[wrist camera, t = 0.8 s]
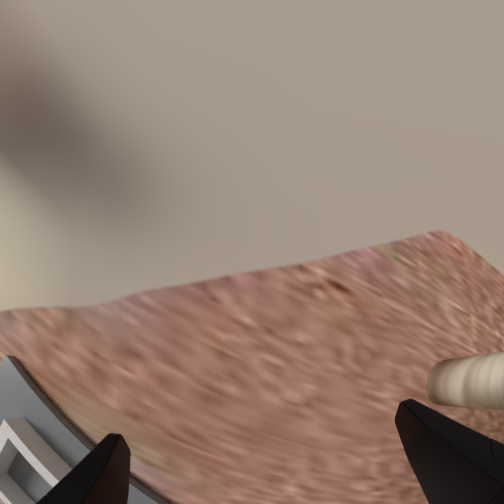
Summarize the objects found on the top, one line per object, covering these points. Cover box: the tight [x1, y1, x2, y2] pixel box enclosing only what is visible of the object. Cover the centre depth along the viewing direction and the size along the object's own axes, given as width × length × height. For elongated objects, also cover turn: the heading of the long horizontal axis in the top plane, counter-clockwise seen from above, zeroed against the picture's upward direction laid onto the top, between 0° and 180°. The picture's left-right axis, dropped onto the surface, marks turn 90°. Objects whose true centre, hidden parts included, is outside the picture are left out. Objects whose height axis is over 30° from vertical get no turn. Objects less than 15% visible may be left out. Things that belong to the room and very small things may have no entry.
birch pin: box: [427, 352, 504, 410], centre depth 17 cm, size 4×4×11 cm
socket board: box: [0, 355, 170, 504], centre depth 15 cm, size 20×16×4 cm
